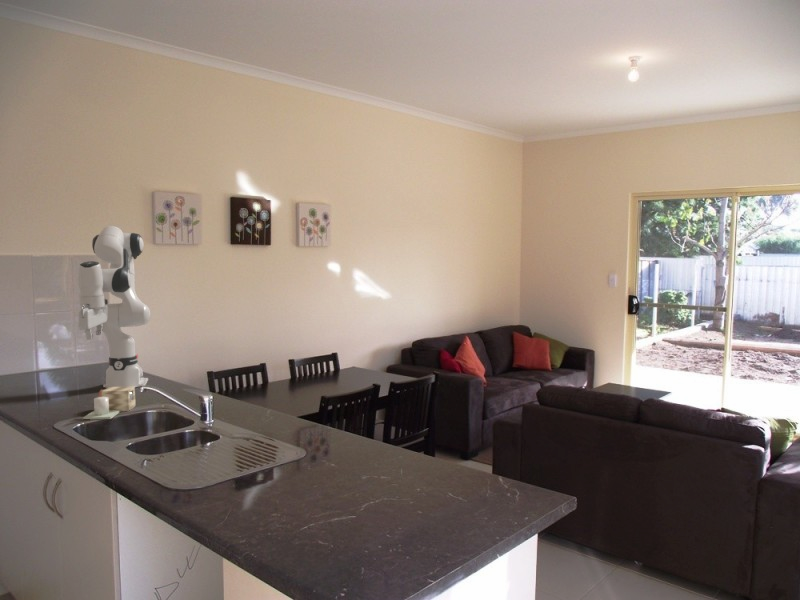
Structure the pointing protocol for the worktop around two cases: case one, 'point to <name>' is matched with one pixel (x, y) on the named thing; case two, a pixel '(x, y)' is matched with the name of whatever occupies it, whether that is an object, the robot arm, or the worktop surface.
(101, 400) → the spacer
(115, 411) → the pad
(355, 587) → the worktop surface
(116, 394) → the bearing block
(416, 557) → the worktop surface
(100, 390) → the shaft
